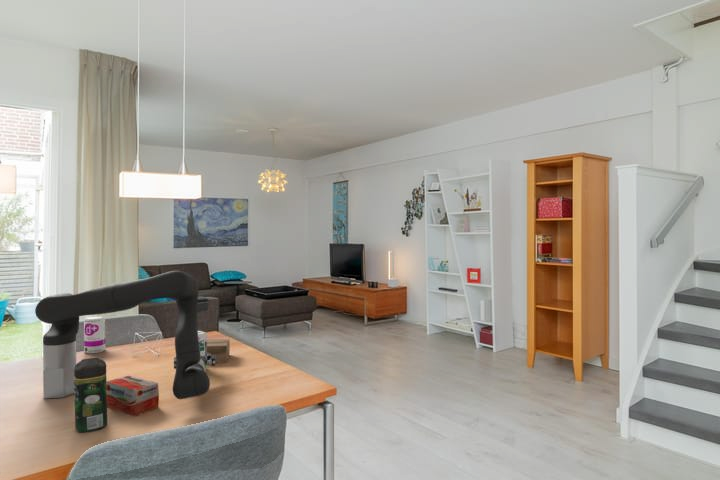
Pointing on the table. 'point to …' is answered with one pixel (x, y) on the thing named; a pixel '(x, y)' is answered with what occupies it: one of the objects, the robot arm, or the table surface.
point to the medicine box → (132, 395)
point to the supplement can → (94, 334)
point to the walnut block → (219, 349)
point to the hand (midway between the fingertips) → (195, 355)
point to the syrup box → (202, 343)
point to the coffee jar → (90, 394)
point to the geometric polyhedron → (145, 344)
